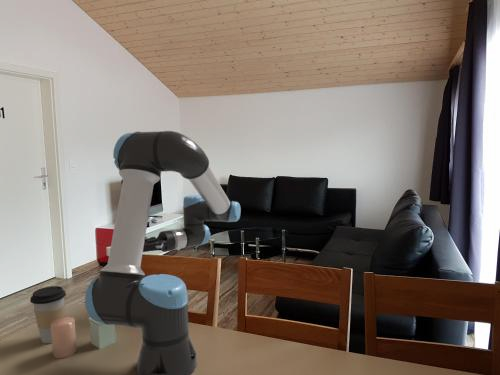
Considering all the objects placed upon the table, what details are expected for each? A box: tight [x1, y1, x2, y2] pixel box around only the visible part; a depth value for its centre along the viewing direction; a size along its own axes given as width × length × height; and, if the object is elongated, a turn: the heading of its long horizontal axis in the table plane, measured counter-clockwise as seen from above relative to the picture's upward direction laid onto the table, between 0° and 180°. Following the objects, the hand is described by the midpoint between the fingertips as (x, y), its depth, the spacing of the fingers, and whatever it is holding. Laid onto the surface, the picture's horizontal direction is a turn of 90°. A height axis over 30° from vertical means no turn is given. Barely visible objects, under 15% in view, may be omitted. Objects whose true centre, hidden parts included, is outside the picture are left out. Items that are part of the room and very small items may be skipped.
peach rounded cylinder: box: [51, 316, 78, 359], centre depth 105 cm, size 6×6×9 cm
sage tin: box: [88, 316, 117, 350], centre depth 110 cm, size 5×5×8 cm
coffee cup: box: [29, 285, 67, 344], centre depth 112 cm, size 9×9×15 cm
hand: (107, 251), depth 123 cm, fingers closed
